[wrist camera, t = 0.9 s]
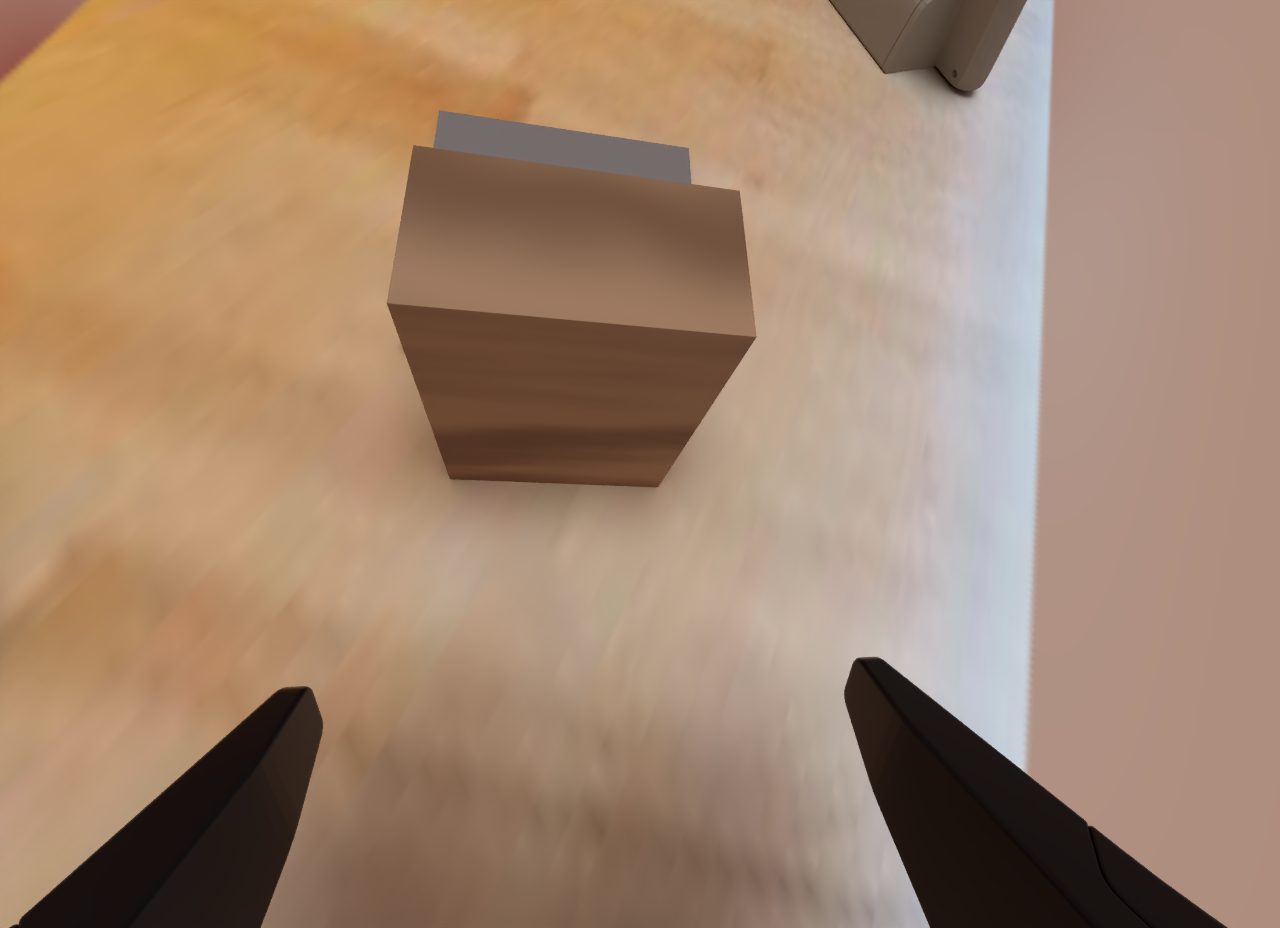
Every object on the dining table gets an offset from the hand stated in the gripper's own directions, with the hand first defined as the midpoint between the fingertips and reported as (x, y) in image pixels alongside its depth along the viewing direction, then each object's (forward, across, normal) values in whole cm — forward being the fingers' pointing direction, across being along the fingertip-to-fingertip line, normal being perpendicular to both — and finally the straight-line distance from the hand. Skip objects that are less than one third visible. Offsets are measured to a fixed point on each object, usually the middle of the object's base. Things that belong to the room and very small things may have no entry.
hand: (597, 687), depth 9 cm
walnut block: (+17, +1, +3) cm, 17 cm away
